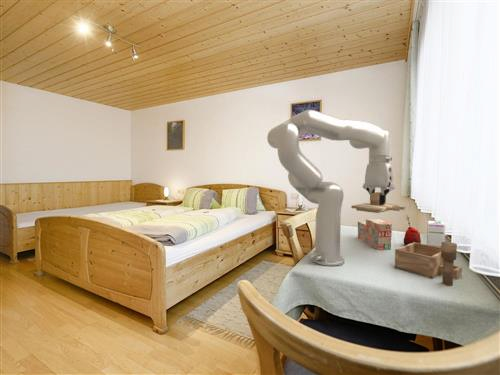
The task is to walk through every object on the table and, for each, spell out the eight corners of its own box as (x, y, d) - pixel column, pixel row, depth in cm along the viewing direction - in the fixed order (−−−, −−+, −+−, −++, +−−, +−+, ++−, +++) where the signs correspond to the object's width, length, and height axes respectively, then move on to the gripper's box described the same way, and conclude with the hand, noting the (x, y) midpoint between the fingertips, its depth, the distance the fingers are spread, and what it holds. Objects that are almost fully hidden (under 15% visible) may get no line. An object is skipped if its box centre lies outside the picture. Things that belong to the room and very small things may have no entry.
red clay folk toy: (422, 249, 117) (423, 217, 116) (404, 248, 120) (405, 216, 119) (418, 245, 124) (419, 214, 123) (402, 243, 127) (402, 213, 126)
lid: (392, 215, 95) (392, 196, 94) (351, 210, 108) (351, 193, 108) (411, 210, 104) (411, 193, 104) (371, 206, 118) (371, 191, 117)
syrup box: (444, 259, 104) (446, 224, 103) (427, 257, 107) (428, 222, 106) (443, 255, 108) (444, 221, 108) (426, 253, 112) (427, 220, 111)
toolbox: (451, 283, 81) (451, 262, 81) (394, 268, 95) (395, 249, 94) (466, 272, 91) (467, 252, 90) (413, 259, 104) (413, 242, 104)
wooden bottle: (452, 287, 78) (454, 245, 78) (438, 283, 81) (439, 243, 81) (456, 284, 81) (458, 243, 80) (442, 280, 84) (443, 241, 83)
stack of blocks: (357, 238, 138) (357, 215, 137) (368, 238, 138) (369, 215, 138) (377, 250, 117) (378, 223, 116) (391, 250, 117) (392, 223, 116)
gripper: (403, 160, 104) (402, 205, 105) (364, 161, 117) (364, 201, 118) (394, 159, 99) (393, 206, 100) (355, 161, 113) (354, 203, 114)
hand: (377, 203), depth 109 cm, fingers closed on lid, 3 cm apart
